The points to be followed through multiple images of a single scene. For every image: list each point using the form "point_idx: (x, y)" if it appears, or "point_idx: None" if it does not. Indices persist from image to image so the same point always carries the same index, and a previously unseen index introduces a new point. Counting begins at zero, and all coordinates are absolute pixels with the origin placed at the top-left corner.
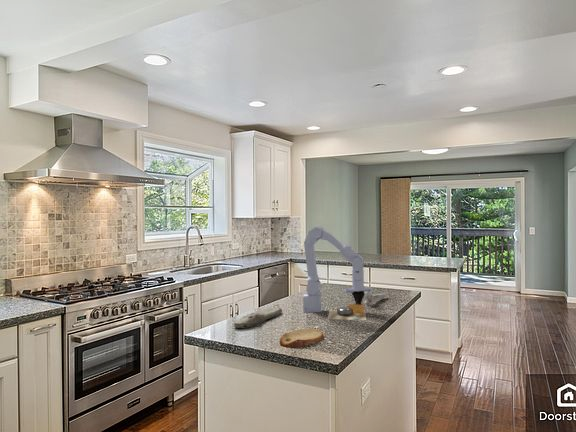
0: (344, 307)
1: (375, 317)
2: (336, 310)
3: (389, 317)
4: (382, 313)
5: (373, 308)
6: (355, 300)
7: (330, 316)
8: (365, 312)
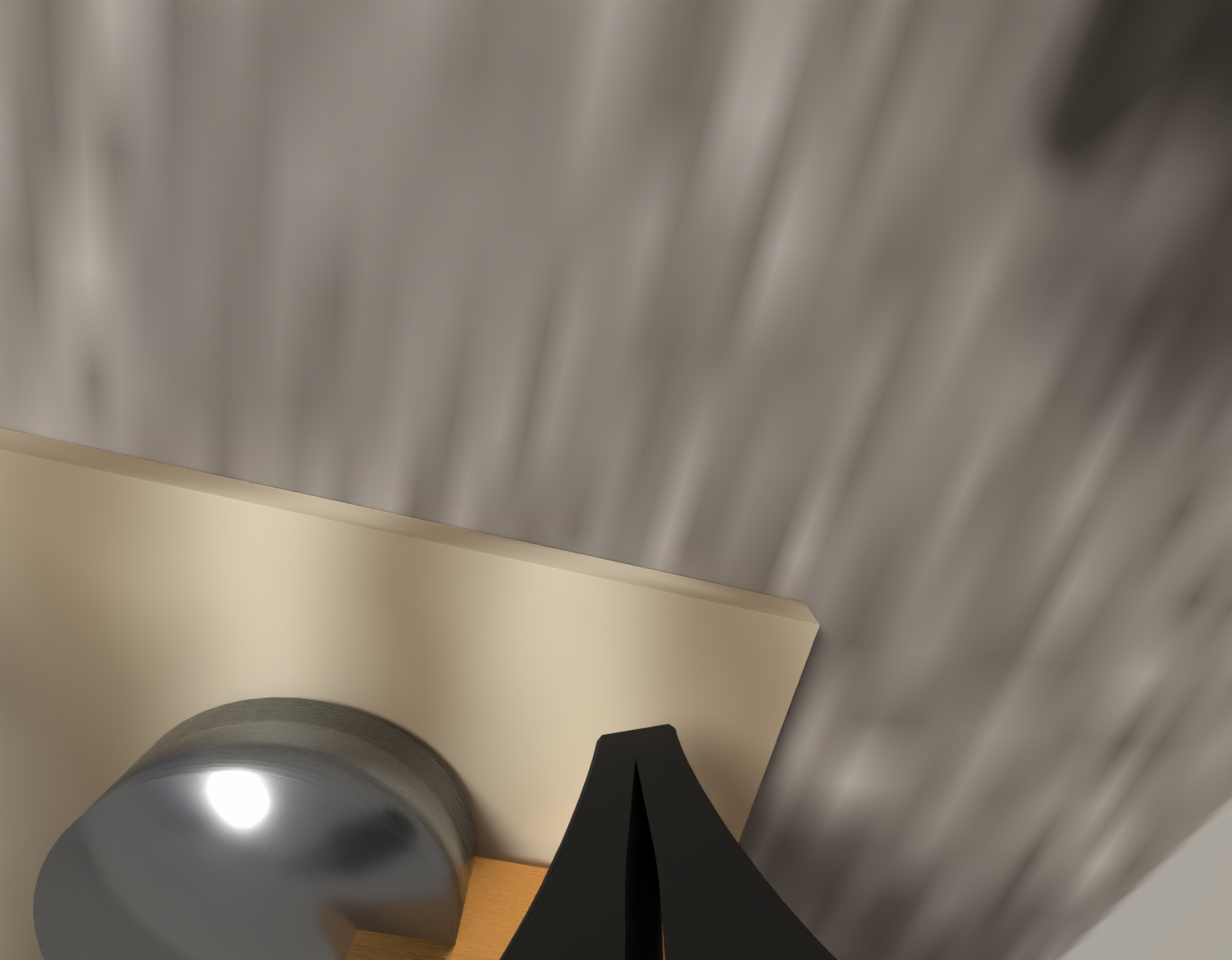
0: (243, 806)
1: (859, 913)
2: (113, 523)
3: (1089, 930)
4: (1121, 687)
5: (1178, 208)
6: (566, 882)
7: (4, 957)
8: (766, 762)
